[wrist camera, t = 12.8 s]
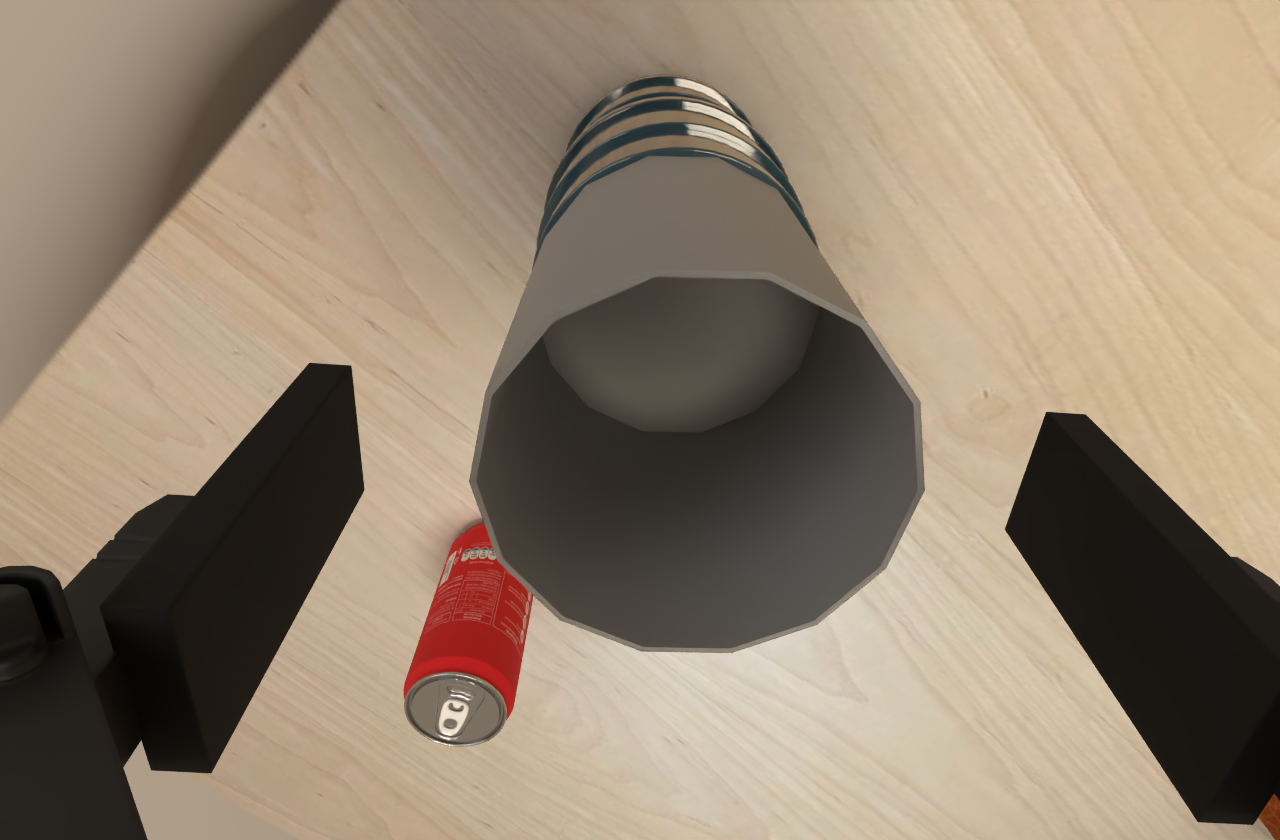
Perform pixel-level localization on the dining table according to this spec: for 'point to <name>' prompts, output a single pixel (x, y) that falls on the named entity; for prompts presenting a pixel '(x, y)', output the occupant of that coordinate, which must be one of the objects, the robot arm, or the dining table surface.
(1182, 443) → the dining table surface
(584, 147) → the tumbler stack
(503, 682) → the beverage can
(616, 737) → the dining table surface
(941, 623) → the dining table surface
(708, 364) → the cup
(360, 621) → the dining table surface
